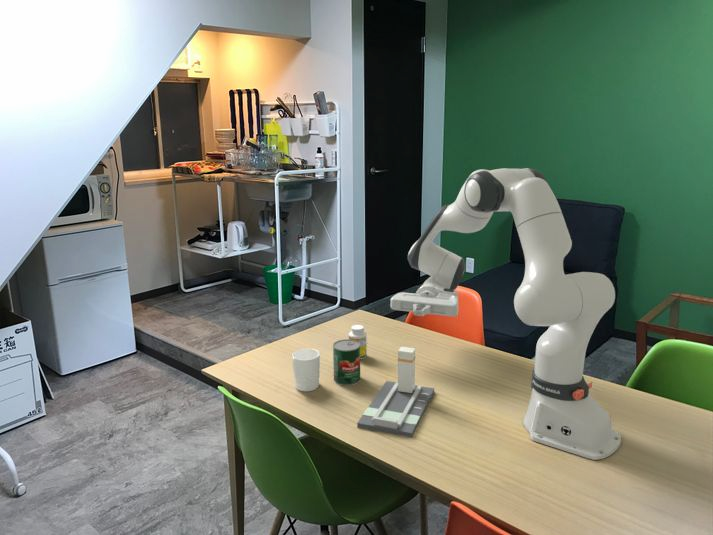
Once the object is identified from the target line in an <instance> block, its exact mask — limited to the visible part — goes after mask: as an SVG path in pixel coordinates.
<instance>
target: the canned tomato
mask: <svg viewBox="0 0 713 535" xmlns="http://www.w3.org/2000/svg"><path fill="white" fill-rule="evenodd" d="M332 352H333V353H332V355H333V357H332V358H333V381H335V382H336V385H339V384H340V385H339V386H344V385H349V386H353V384H354V385H356V383H357V384H358V383H359V382H361V360H360V343H359V342H357V341H355V340H349V338H347V339H339V340H337V341H334V342H333V344H332ZM335 382H334V383H335Z"/></svg>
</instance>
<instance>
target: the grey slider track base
mask: <svg viewBox="0 0 713 535" xmlns="http://www.w3.org/2000/svg"><path fill="white" fill-rule="evenodd" d="M434 394H435V387H433V388H432V387H429V386H428V387H427V386H421V385H416V384H415V389H414V390H413V392H412V393H407V392H401V391H398V381H396V382H395V381H388V380H386V381H385V382H384V384H383V385H382V386H381V388H380V390H379V391H378V392H377V394H376V395H375V396H374V397H373V400H372V401H371V403H370V404H369V406H367V408H366V409H365V411H364V412H363V414H362V415H361V417H360V418H359V420H358V421H357V423H356V424H357V425H356V426H357V428H360V429H365V430H371V431H376V432H381V433H386V434H392V435H396V436H403V437H406V438H407V437H408V438H413V436H414V434H415V431H416V430H417V427H418V426H419V424H420V422H421V419H422V418H423V416H424V413H425V412H426V410H427V408H428V406H429V403H430V401H431V399H432V398H433V396H434Z"/></svg>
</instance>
